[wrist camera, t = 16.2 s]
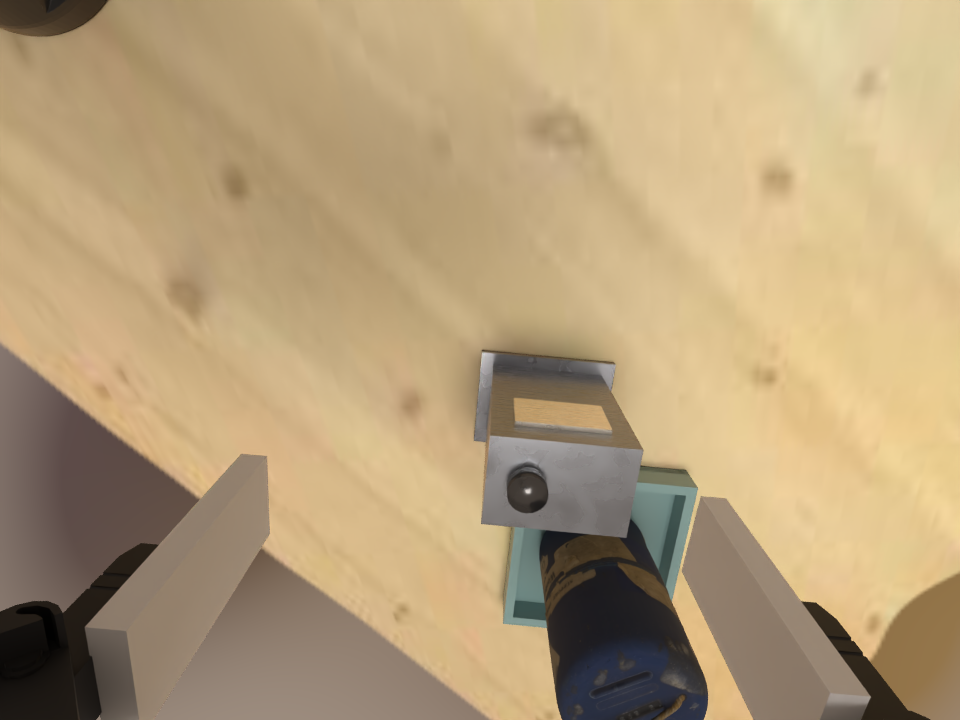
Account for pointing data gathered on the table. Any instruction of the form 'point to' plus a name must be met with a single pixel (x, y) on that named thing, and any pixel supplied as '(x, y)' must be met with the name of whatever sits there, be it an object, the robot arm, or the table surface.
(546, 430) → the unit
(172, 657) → the robot arm
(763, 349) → the table surface
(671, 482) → the tray
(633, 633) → the canister
